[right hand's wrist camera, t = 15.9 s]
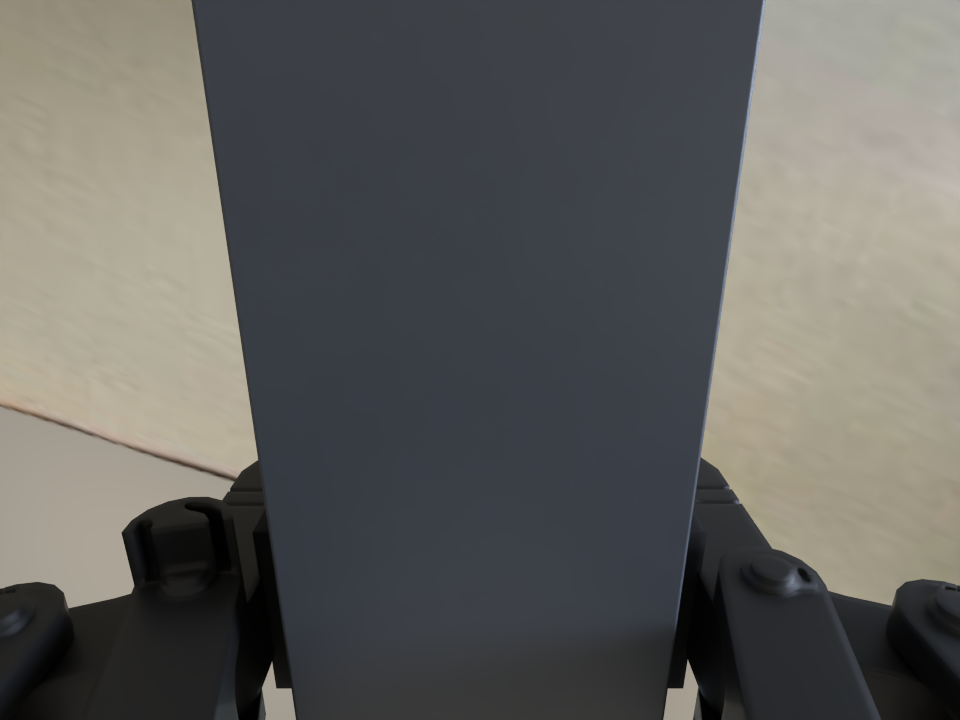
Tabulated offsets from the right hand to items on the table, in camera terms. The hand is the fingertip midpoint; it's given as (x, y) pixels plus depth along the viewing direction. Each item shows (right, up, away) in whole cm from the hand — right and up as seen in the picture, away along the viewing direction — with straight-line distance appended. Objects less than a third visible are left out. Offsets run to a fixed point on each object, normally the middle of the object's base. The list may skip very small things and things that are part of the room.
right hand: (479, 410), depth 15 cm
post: (0, +24, -9) cm, 26 cm away
